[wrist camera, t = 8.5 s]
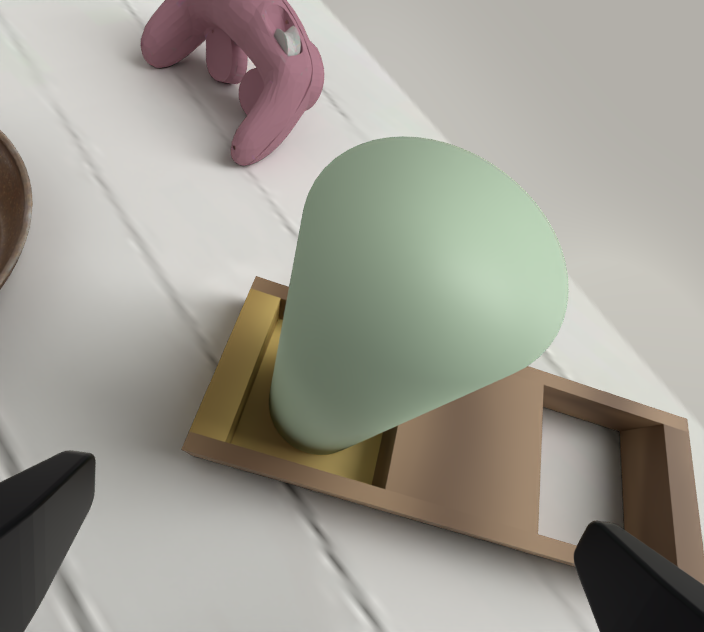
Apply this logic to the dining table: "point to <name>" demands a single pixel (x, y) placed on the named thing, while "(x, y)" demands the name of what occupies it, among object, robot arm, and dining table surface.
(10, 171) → the saucer
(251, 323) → the wooden compartment tray
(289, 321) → the peg
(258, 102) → the video game controller
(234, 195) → the dining table surface
